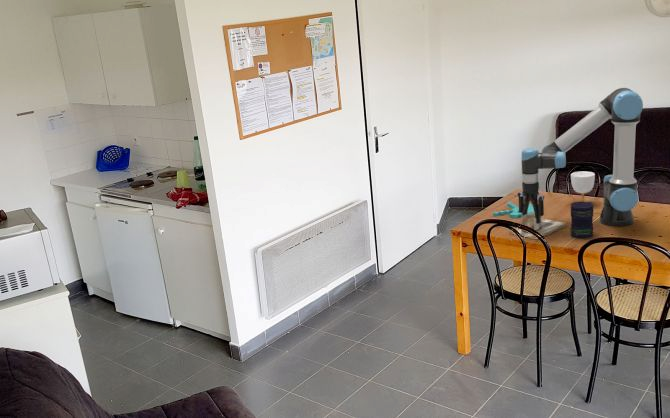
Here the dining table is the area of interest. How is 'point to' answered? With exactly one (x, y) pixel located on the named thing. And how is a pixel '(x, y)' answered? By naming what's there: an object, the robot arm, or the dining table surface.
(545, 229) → the board
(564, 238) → the dining table surface
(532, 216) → the block
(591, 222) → the storage jar
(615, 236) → the dining table surface
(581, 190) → the cup
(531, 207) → the alien figure
